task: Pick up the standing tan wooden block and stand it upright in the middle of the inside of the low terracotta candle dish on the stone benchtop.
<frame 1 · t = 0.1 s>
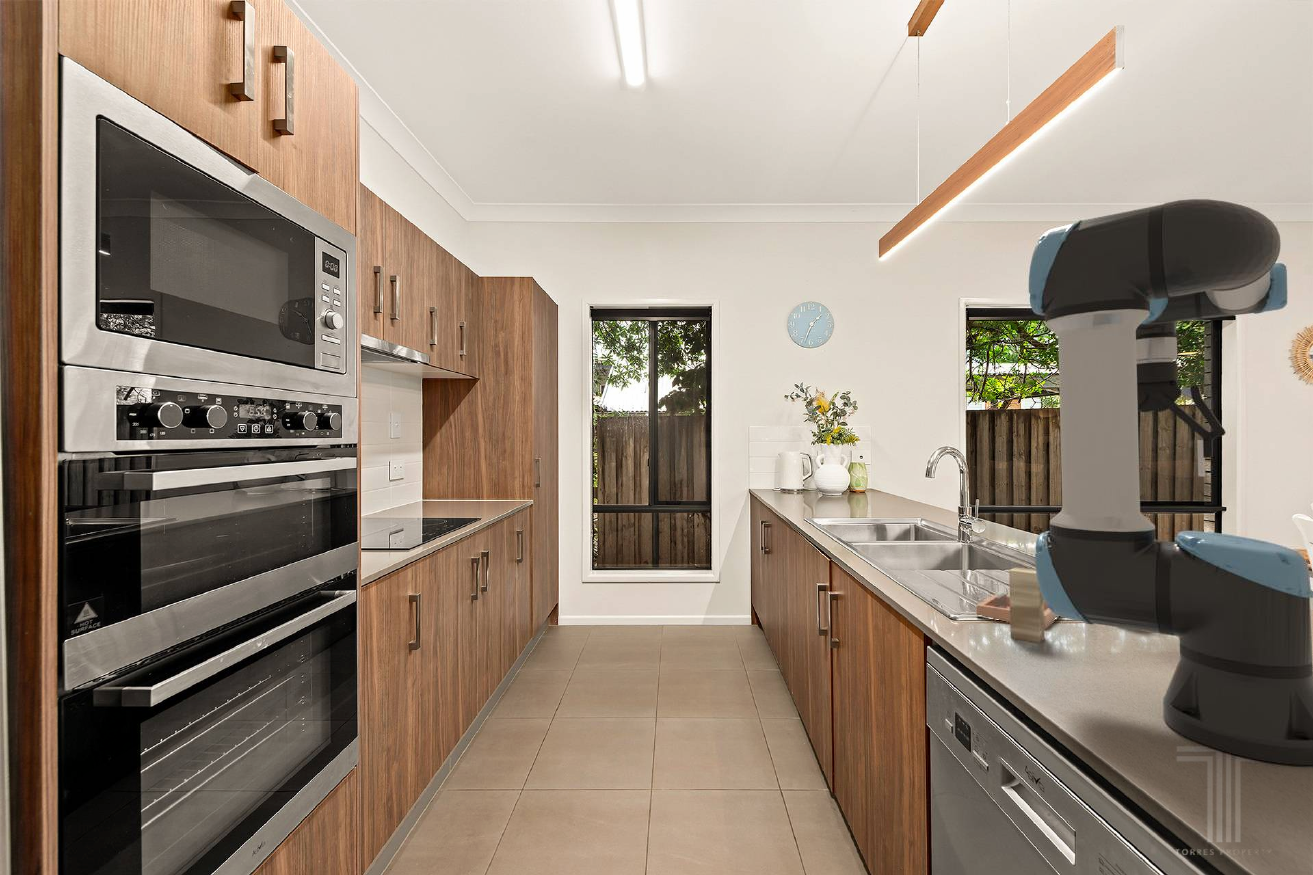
hand: (1154, 475, 120), 28 cm above the worktop, fingers open, 13 cm apart
tan wooden block: (1027, 637, 113), on the worktop
candle dish: (1019, 616, 127), on the worktop
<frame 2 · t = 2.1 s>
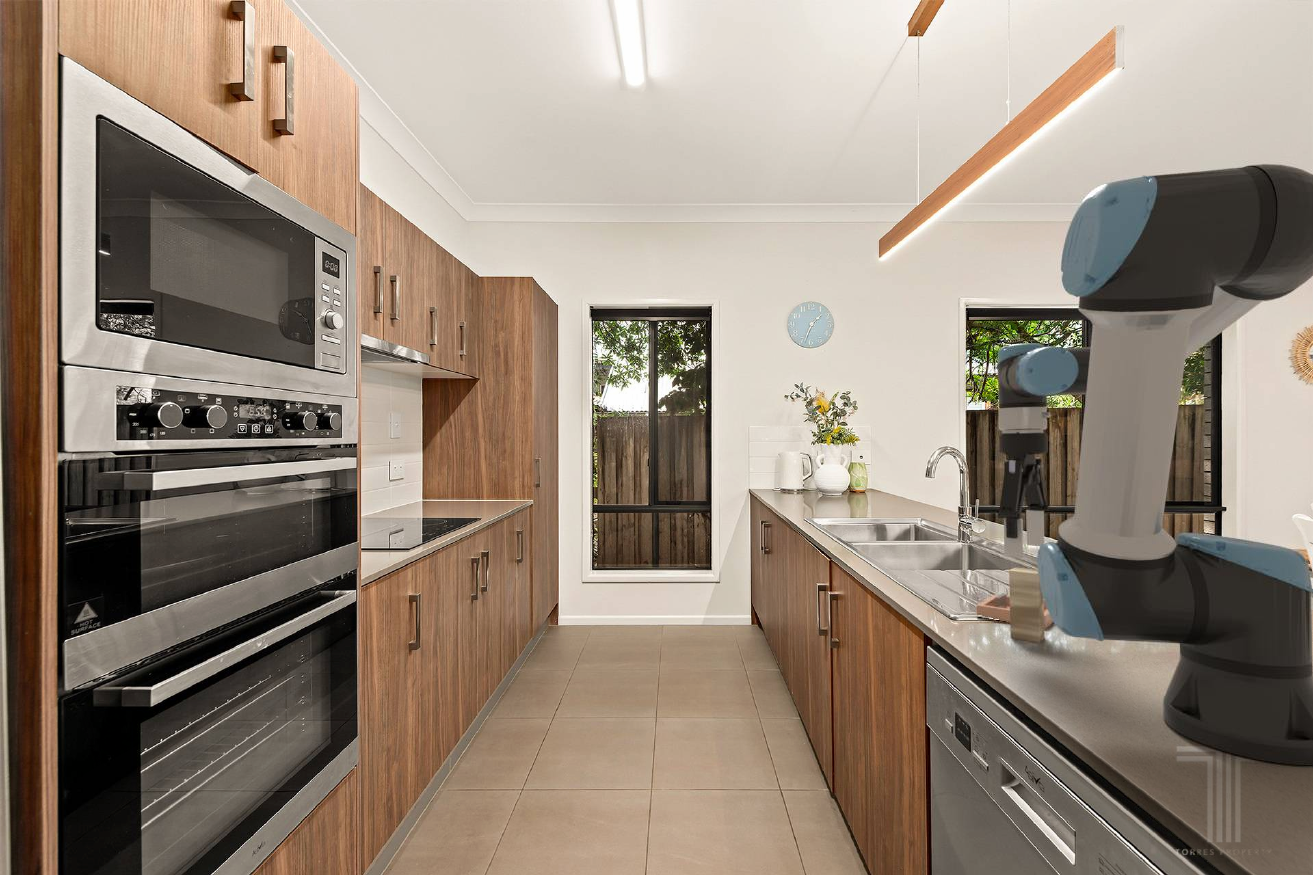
hand: (1025, 551, 113), 15 cm above the worktop, fingers open, 13 cm apart
nothing on the worktop moved.
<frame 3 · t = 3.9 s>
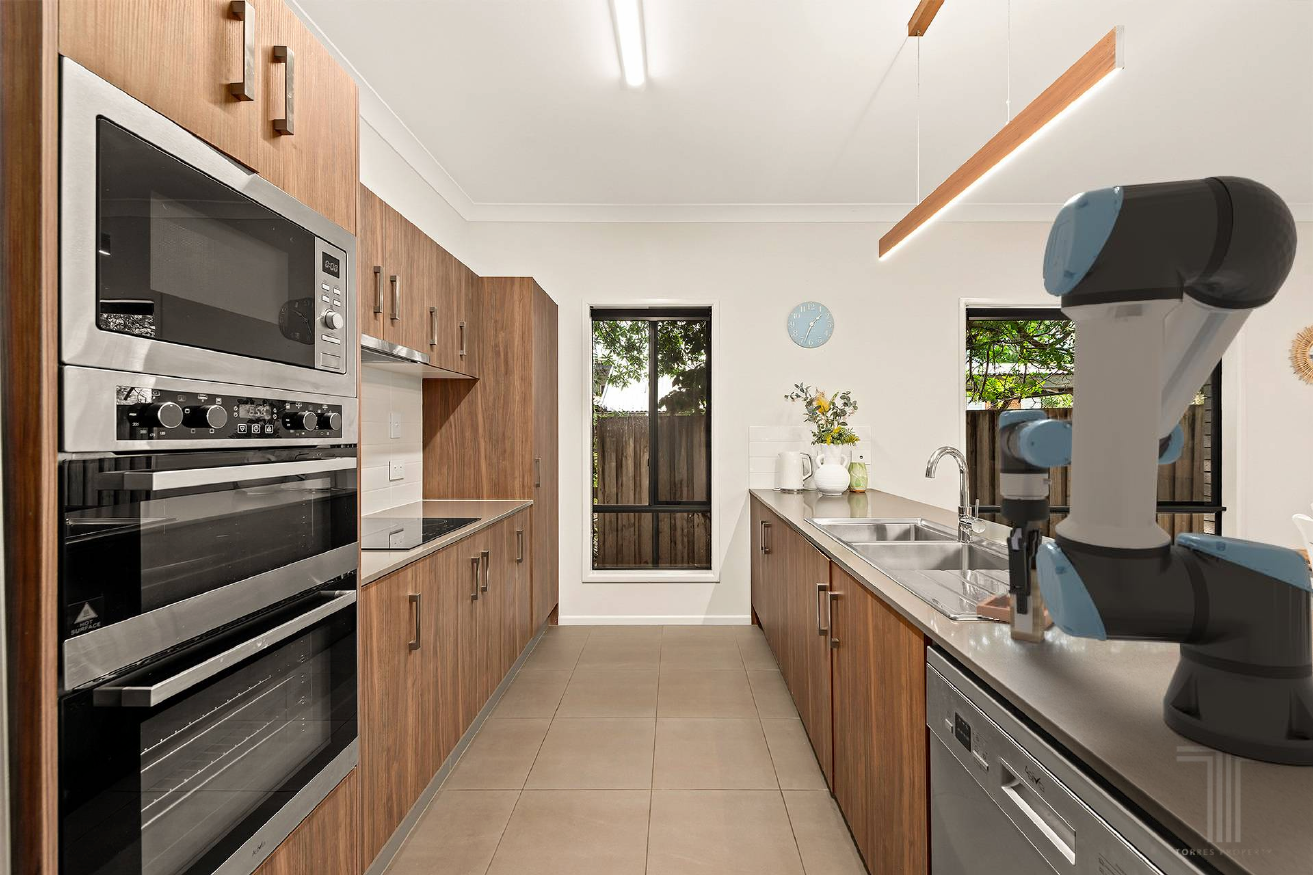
hand: (1027, 628, 113), 2 cm above the worktop, fingers closed on tan wooden block, 3 cm apart
tan wooden block: (1027, 637, 113), on the worktop, touching gripper
everything else where it was.
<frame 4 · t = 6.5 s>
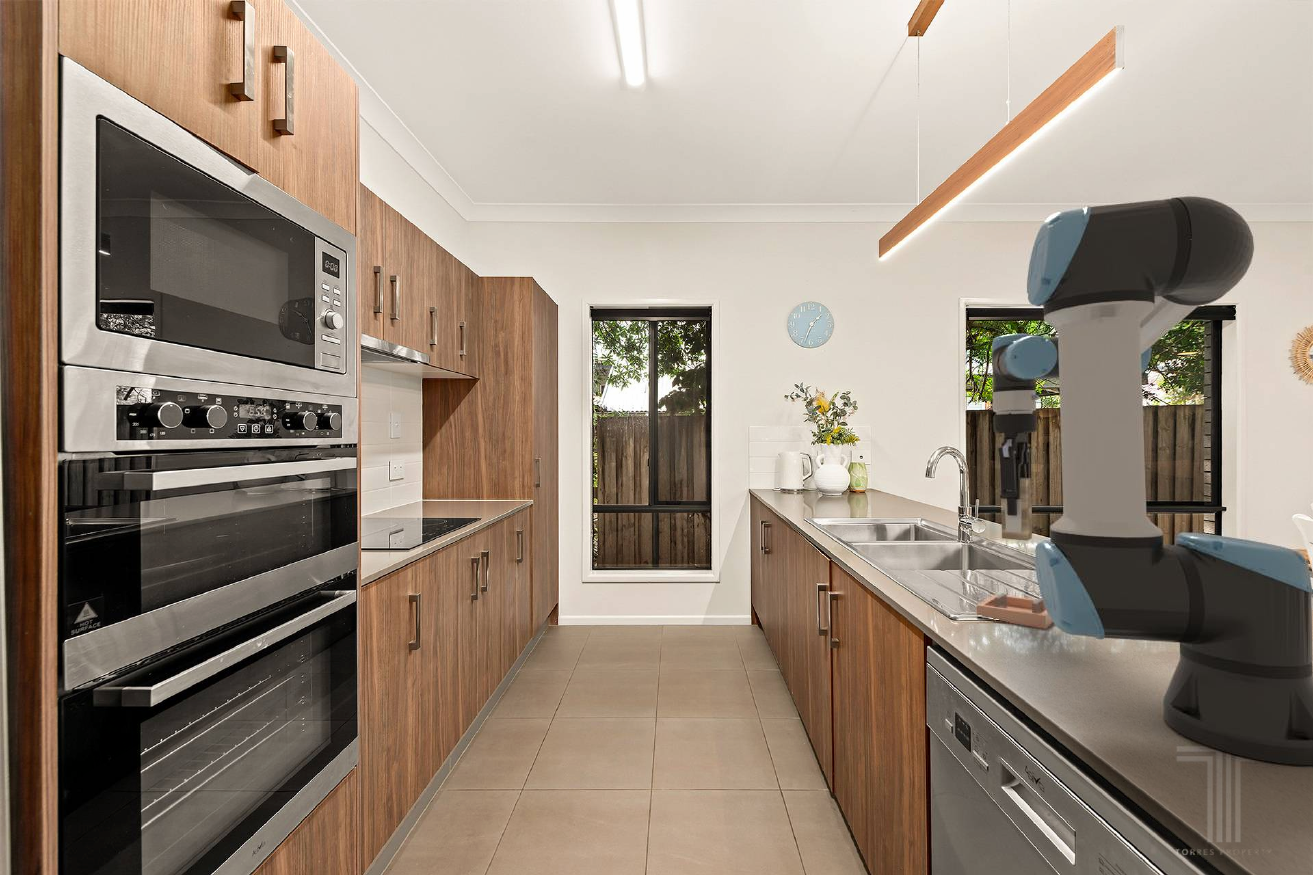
hand: (1016, 530, 127), 17 cm above the worktop, fingers closed on tan wooden block, 3 cm apart
tan wooden block: (1016, 538, 127), point 15 cm above the worktop, touching gripper
everything else where it was.
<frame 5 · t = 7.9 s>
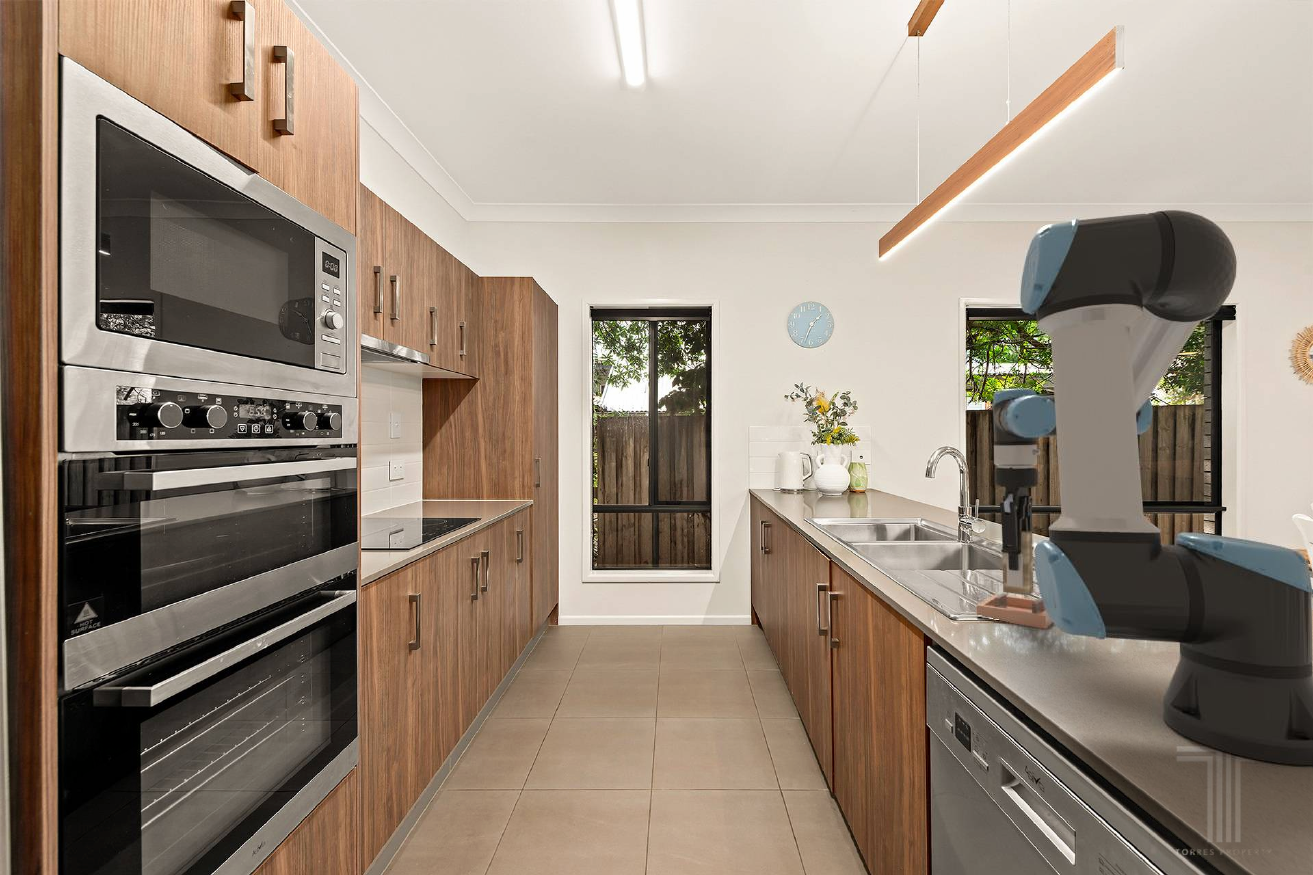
hand: (1018, 584, 127), 6 cm above the worktop, fingers closed on tan wooden block, 3 cm apart
tan wooden block: (1018, 592, 127), point 5 cm above the worktop, touching gripper
everything else where it was.
when the fingers open (2 cm above the worktop, at t = 8.9 s): tan wooden block stays where it is, resting on candle dish.
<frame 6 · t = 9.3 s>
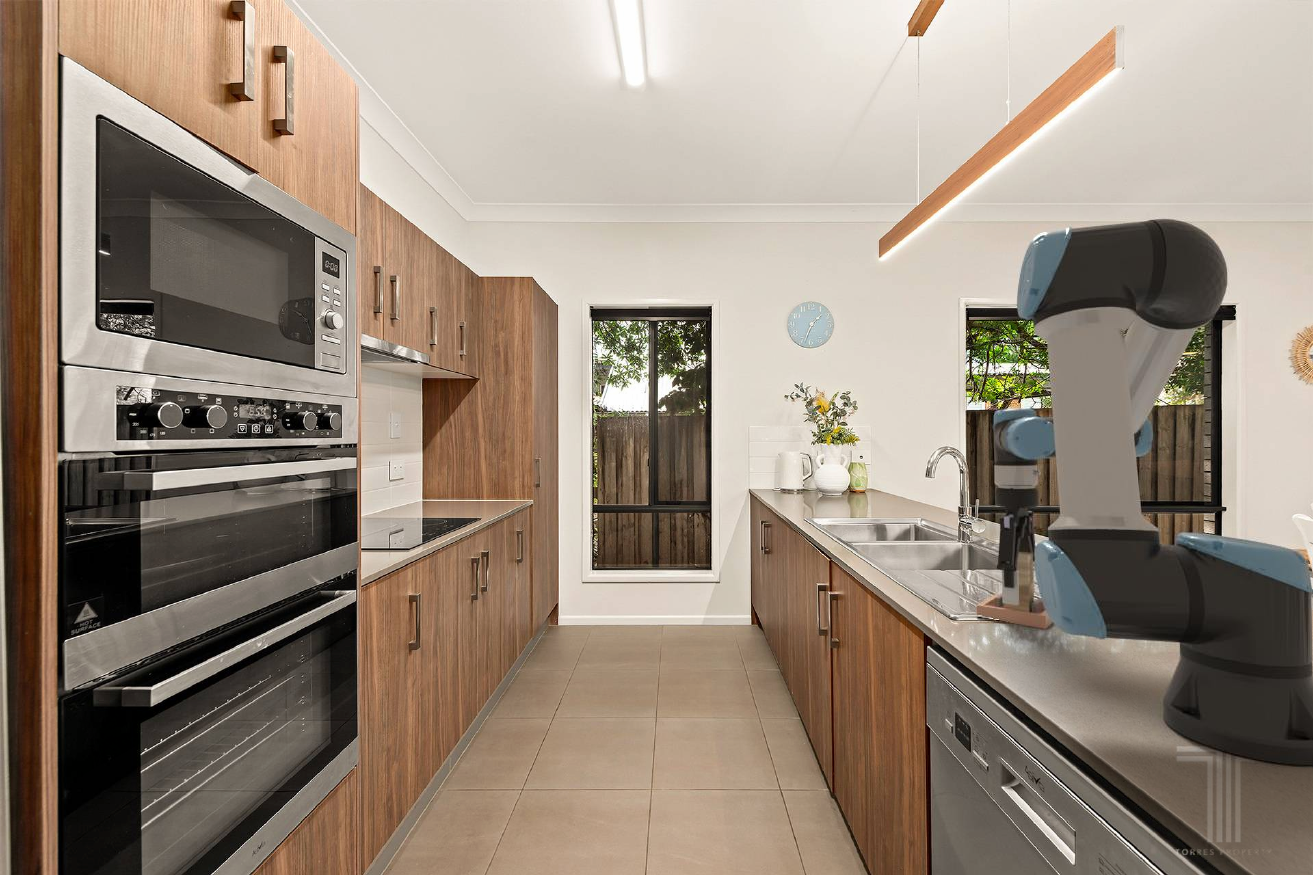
hand: (1018, 598, 127), 3 cm above the worktop, fingers open, 10 cm apart
tan wooden block: (1018, 613, 127), point 1 cm above the worktop, touching candle dish
everything else where it was.
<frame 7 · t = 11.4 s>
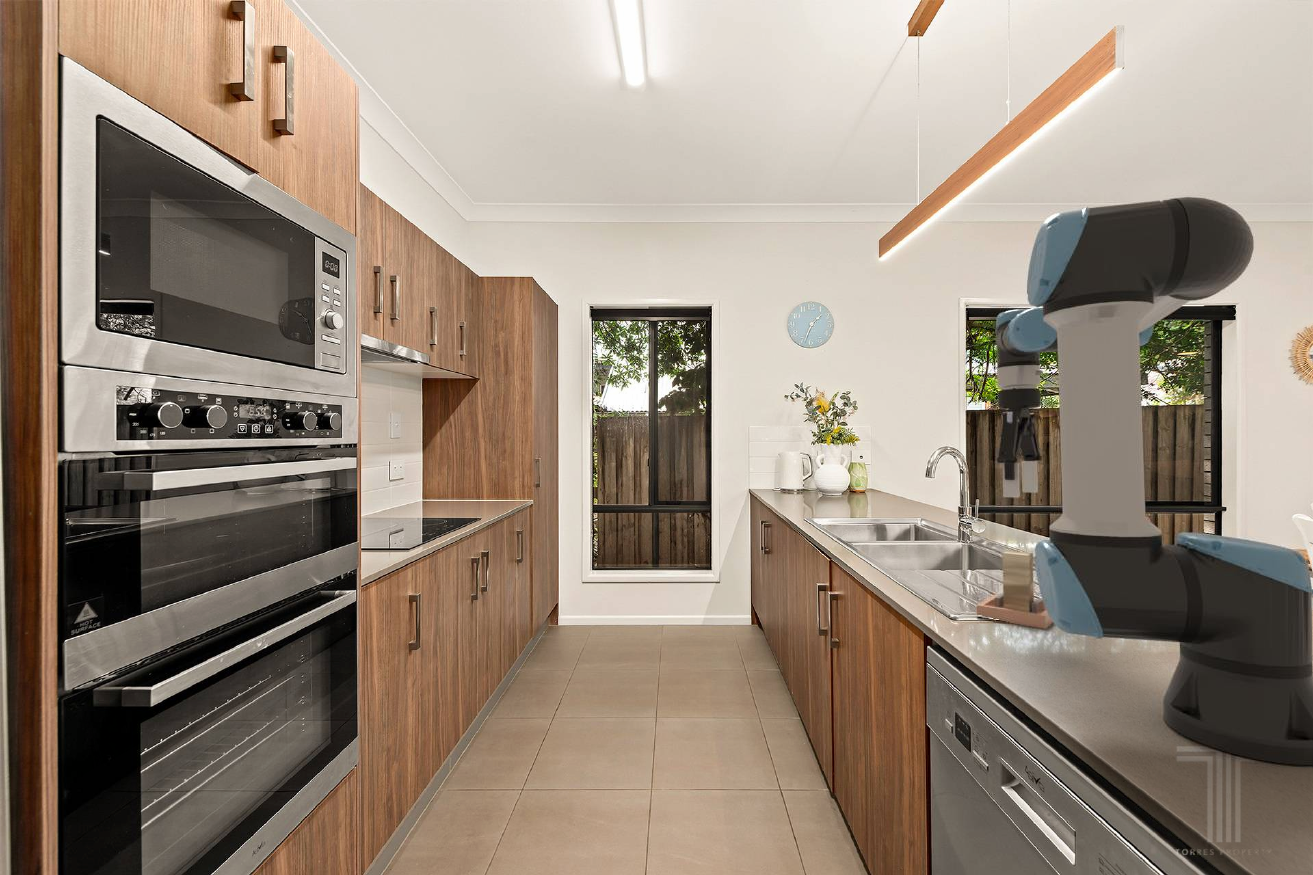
hand: (1021, 494, 127), 24 cm above the worktop, fingers open, 13 cm apart
nothing on the worktop moved.
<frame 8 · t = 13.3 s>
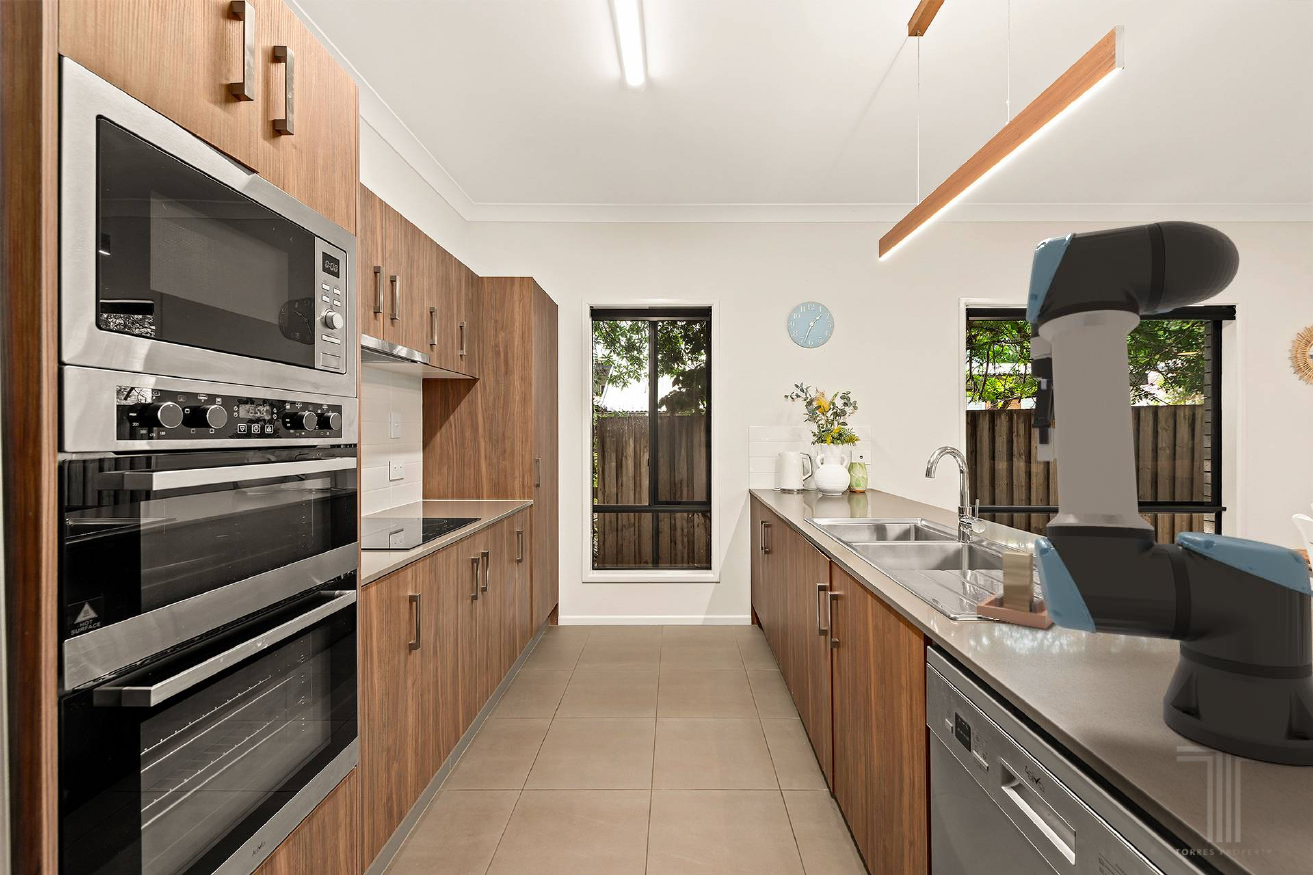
hand: (1054, 460, 133), 31 cm above the worktop, fingers open, 13 cm apart
nothing on the worktop moved.
at the end: tan wooden block 0.0 cm off-centre on the candle dish, point 0.6 cm above the candle dish's base; tan wooden block tilted 0°; the gripper is holding nothing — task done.
